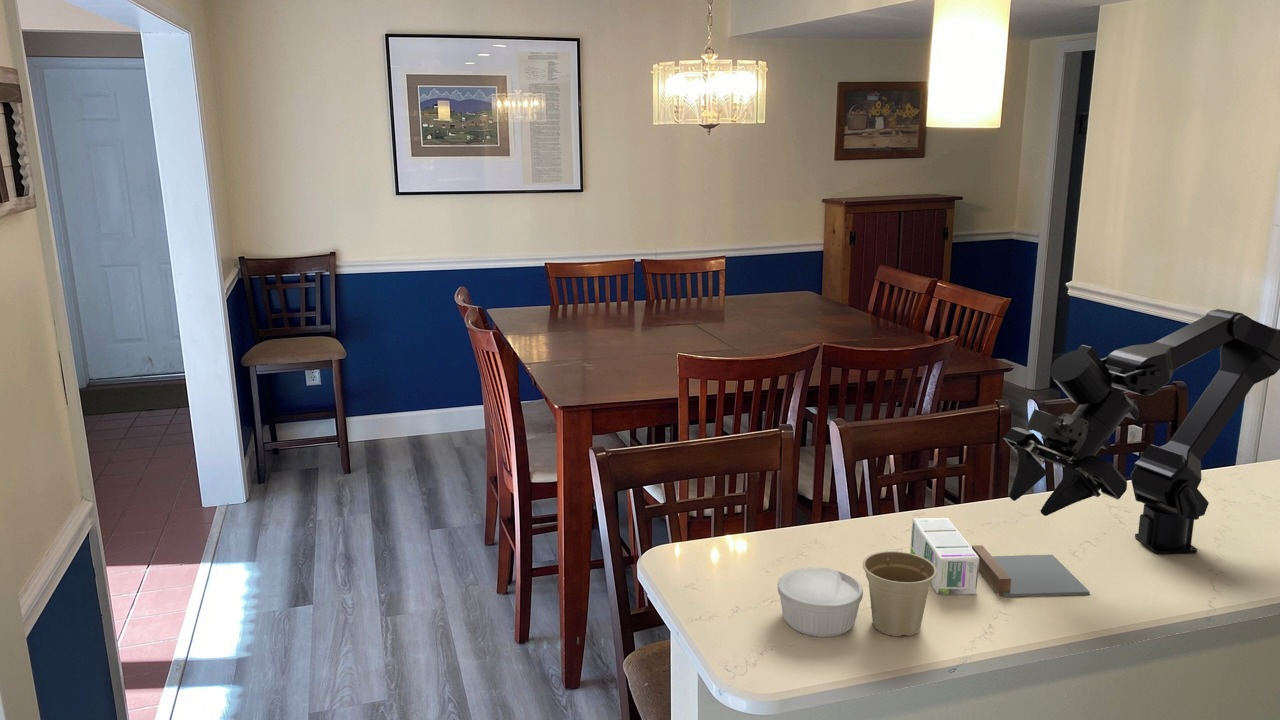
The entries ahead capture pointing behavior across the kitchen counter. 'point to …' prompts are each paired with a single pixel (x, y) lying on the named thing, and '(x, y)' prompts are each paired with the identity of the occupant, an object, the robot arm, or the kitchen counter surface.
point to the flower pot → (898, 590)
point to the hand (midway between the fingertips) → (1026, 506)
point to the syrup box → (946, 555)
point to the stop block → (992, 570)
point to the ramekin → (819, 600)
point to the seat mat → (1039, 576)
